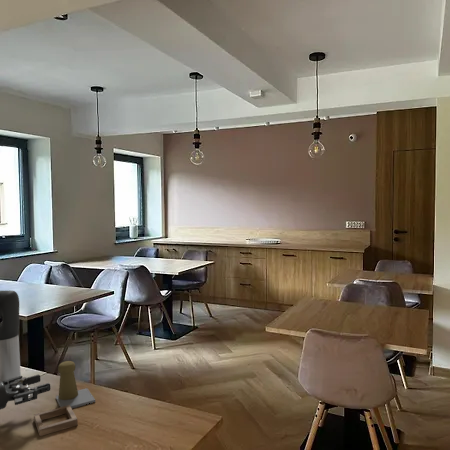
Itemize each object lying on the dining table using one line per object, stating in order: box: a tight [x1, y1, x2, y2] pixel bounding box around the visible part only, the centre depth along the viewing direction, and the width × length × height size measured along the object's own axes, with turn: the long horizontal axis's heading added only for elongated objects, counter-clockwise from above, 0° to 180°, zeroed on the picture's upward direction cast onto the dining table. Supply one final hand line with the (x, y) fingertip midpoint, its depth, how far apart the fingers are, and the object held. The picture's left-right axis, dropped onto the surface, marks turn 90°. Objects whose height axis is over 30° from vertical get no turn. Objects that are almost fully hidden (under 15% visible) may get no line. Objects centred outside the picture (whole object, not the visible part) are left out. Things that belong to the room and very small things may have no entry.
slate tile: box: [55, 387, 96, 409], centre depth 136 cm, size 10×10×1 cm
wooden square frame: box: [33, 405, 79, 437], centre depth 122 cm, size 10×10×2 cm
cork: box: [57, 360, 79, 400], centre depth 137 cm, size 6×6×11 cm
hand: (44, 382), depth 129 cm, fingers open, 8 cm apart
